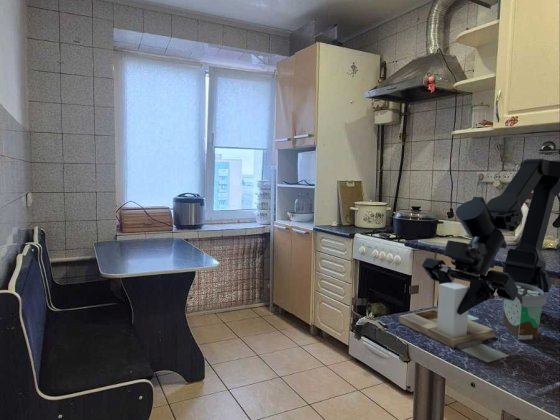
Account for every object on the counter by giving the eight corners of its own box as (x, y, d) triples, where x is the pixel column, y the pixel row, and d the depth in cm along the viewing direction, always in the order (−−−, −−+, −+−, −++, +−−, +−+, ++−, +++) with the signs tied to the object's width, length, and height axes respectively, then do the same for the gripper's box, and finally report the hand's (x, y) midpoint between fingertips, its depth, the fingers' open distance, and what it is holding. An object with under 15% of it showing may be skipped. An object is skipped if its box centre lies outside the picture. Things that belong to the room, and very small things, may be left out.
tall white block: (450, 332, 86) (452, 281, 85) (466, 339, 82) (469, 286, 81) (436, 335, 84) (438, 284, 83) (452, 343, 80) (455, 289, 79)
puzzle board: (456, 312, 100) (456, 304, 100) (548, 346, 80) (548, 336, 80) (398, 324, 92) (399, 315, 92) (485, 365, 72) (486, 354, 72)
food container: (555, 348, 79) (558, 298, 78) (520, 345, 80) (523, 296, 80) (529, 325, 91) (532, 282, 90) (500, 323, 92) (502, 280, 92)
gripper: (428, 221, 91) (393, 276, 86) (513, 231, 75) (477, 299, 70) (448, 252, 96) (416, 306, 91) (532, 267, 80) (499, 333, 75)
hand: (448, 310), depth 82 cm, fingers closed on tall white block, 4 cm apart
